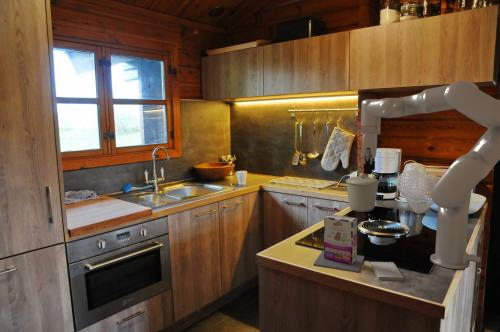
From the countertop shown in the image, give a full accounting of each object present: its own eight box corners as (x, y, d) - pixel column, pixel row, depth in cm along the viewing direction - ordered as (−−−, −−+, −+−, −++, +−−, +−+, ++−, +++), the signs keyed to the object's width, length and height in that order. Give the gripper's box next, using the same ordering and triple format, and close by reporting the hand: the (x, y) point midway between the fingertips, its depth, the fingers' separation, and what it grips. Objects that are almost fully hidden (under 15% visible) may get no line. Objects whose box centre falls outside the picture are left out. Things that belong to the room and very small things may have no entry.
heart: (449, 220, 183) (451, 176, 179) (421, 222, 180) (423, 178, 177) (415, 206, 210) (417, 168, 207) (390, 207, 208) (391, 169, 204)
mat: (364, 257, 139) (364, 256, 139) (358, 272, 127) (358, 270, 127) (322, 251, 146) (322, 250, 146) (313, 265, 133) (313, 263, 133)
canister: (365, 204, 217) (366, 169, 214) (385, 212, 200) (386, 174, 197) (338, 207, 211) (339, 171, 208) (357, 215, 194) (358, 176, 191)
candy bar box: (357, 260, 135) (358, 217, 132) (352, 265, 131) (353, 221, 128) (329, 254, 142) (329, 213, 139) (323, 258, 138) (323, 216, 135)
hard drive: (404, 277, 120) (394, 262, 132) (378, 276, 121) (370, 261, 133) (404, 282, 120) (393, 266, 132) (378, 281, 121) (370, 265, 133)
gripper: (363, 129, 157) (362, 168, 160) (357, 131, 142) (356, 175, 144) (382, 129, 154) (381, 169, 156) (377, 131, 138) (376, 176, 141)
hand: (369, 172), depth 150 cm, fingers open, 9 cm apart
